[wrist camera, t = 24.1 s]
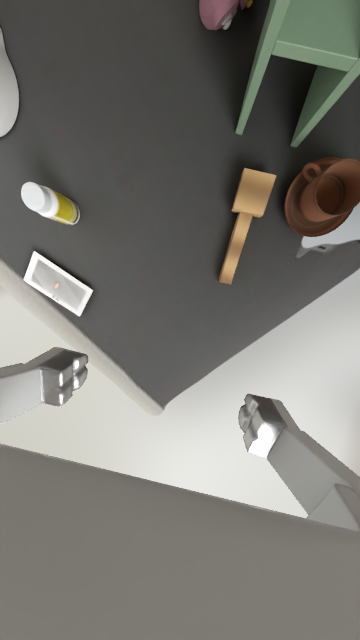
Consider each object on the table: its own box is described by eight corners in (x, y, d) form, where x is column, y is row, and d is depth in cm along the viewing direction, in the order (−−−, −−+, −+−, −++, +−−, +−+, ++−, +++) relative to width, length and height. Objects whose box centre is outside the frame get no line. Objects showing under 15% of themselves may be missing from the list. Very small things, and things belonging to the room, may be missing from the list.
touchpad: (38, 251, 38) (29, 250, 36) (95, 289, 39) (90, 291, 37) (27, 279, 40) (18, 280, 38) (82, 315, 42) (76, 317, 39)
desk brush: (235, 285, 36) (238, 286, 34) (211, 279, 37) (212, 280, 34) (268, 183, 31) (276, 175, 28) (239, 177, 31) (244, 167, 28)
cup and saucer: (267, 223, 33) (283, 214, 27) (304, 151, 29) (332, 121, 23) (321, 248, 33) (349, 244, 27) (364, 180, 29) (407, 158, 24)
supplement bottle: (74, 196, 34) (37, 174, 26) (84, 221, 35) (52, 207, 27) (54, 204, 34) (13, 184, 26) (65, 228, 36) (28, 217, 28)
